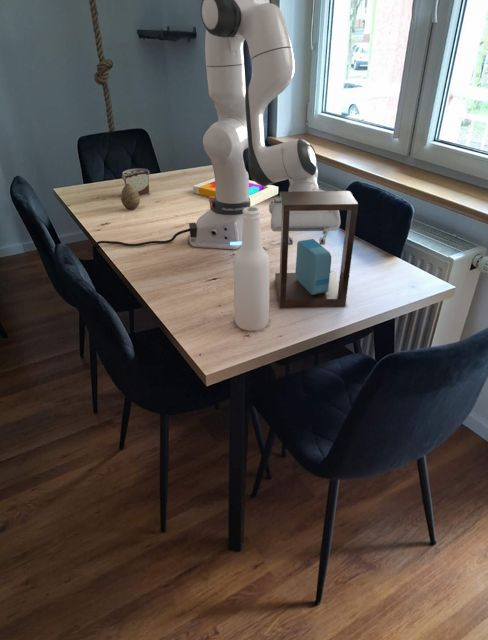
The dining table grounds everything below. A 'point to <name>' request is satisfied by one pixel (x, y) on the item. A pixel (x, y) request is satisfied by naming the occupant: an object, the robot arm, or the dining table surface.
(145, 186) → the food container
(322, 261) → the data package
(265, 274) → the alcohol
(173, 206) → the dining table surface
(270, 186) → the puzzle game
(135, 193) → the decorative egg
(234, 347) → the dining table surface
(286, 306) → the shelf
